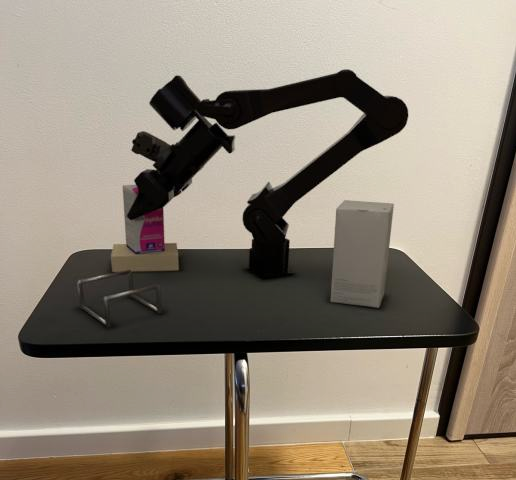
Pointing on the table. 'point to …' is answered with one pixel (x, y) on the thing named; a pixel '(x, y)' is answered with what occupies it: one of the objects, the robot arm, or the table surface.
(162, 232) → the supplement box
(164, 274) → the table surface
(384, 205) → the cosmetic box
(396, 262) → the table surface
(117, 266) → the ledge
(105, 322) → the rack
